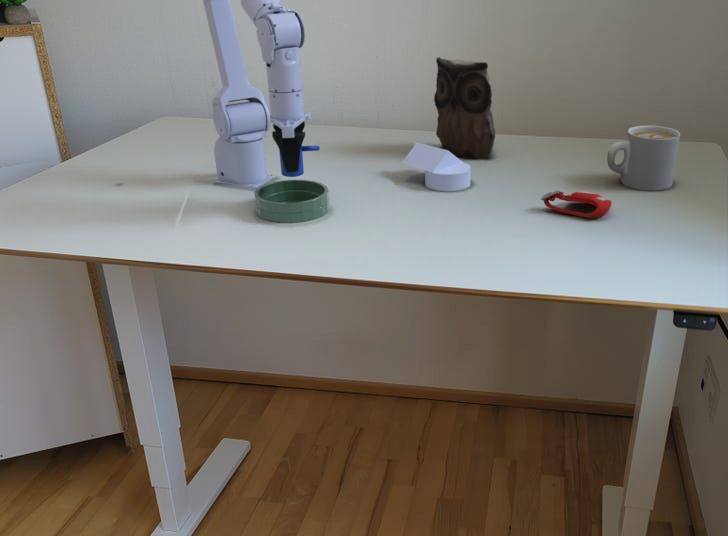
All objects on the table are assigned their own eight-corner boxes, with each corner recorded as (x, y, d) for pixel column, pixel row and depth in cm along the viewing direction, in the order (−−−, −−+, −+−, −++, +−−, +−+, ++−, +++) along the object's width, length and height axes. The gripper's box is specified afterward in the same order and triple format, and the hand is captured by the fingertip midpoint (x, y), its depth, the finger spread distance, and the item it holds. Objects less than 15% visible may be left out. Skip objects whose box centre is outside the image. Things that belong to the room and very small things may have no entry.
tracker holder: (590, 192, 150) (625, 195, 142) (587, 216, 151) (621, 220, 143) (537, 186, 145) (570, 189, 136) (534, 211, 146) (566, 215, 137)
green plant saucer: (242, 219, 143) (240, 198, 141) (280, 196, 153) (278, 176, 151) (307, 229, 138) (305, 207, 136) (341, 205, 149) (340, 184, 147)
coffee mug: (667, 175, 163) (675, 126, 157) (676, 191, 154) (684, 139, 149) (601, 173, 164) (607, 124, 159) (605, 189, 155) (612, 138, 150)
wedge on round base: (401, 180, 161) (449, 194, 153) (401, 147, 158) (450, 160, 150) (431, 169, 167) (479, 183, 159) (431, 137, 163) (480, 149, 156)
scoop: (281, 177, 141) (278, 149, 138) (281, 170, 144) (279, 143, 142) (321, 175, 142) (319, 147, 139) (321, 168, 145) (319, 141, 143)
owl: (495, 160, 172) (499, 63, 162) (437, 162, 171) (438, 64, 161) (487, 144, 183) (490, 52, 172) (432, 145, 182) (432, 53, 172)
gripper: (309, 98, 130) (315, 179, 137) (308, 79, 142) (313, 154, 149) (266, 99, 129) (274, 181, 136) (268, 80, 141) (275, 156, 148)
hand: (292, 167), depth 142 cm, fingers closed on scoop, 4 cm apart
